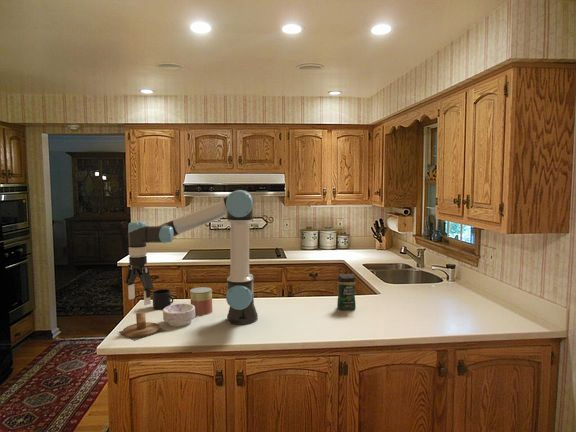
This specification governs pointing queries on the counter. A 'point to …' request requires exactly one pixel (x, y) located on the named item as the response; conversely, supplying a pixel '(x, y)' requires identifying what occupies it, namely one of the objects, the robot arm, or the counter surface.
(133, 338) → the mat
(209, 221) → the robot arm
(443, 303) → the counter surface
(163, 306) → the mug
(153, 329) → the lid
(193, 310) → the speckled bowl
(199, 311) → the canned food
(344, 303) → the coffee jar
